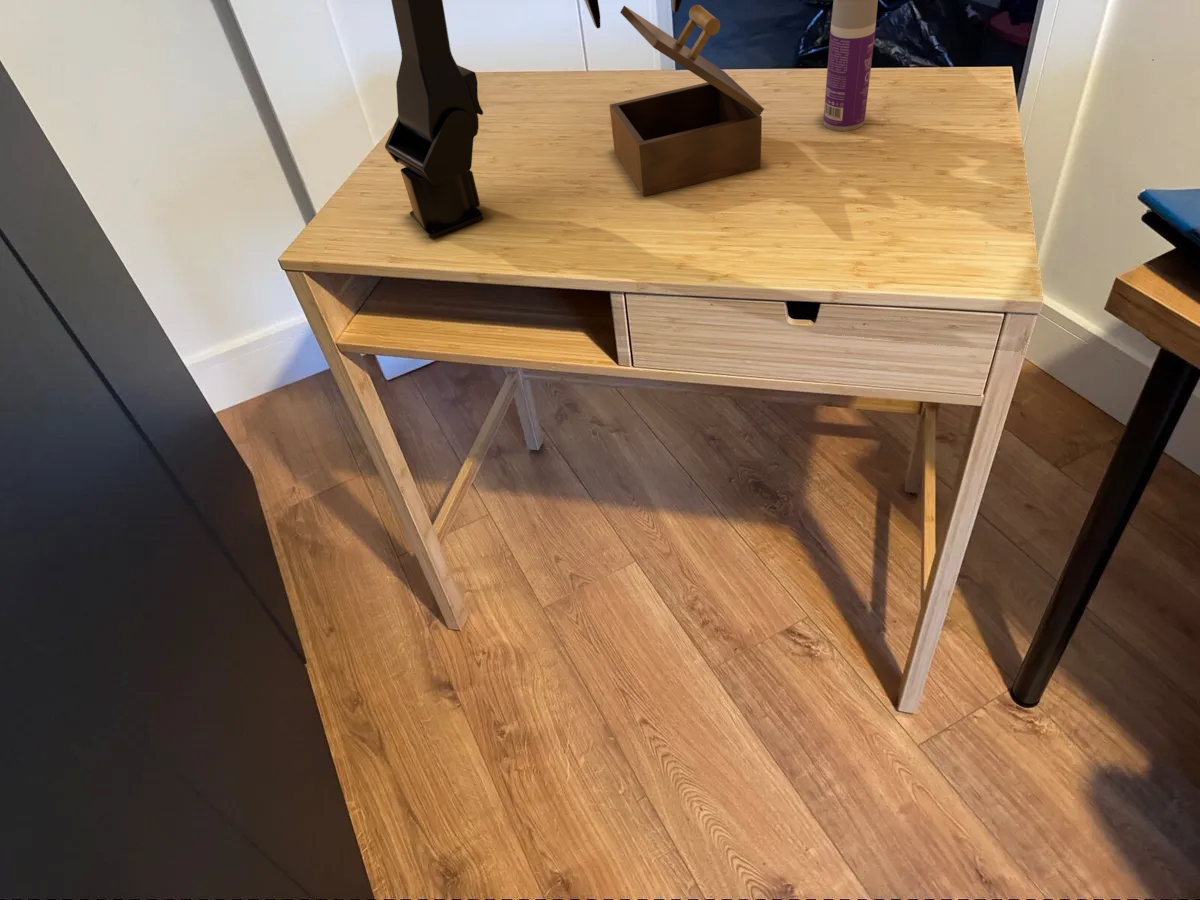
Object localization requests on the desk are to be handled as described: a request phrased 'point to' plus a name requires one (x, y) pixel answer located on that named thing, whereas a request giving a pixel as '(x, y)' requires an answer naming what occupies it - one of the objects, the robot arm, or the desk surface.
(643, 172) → the compartment
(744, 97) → the box door
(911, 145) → the desk surface
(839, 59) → the container
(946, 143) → the desk surface
